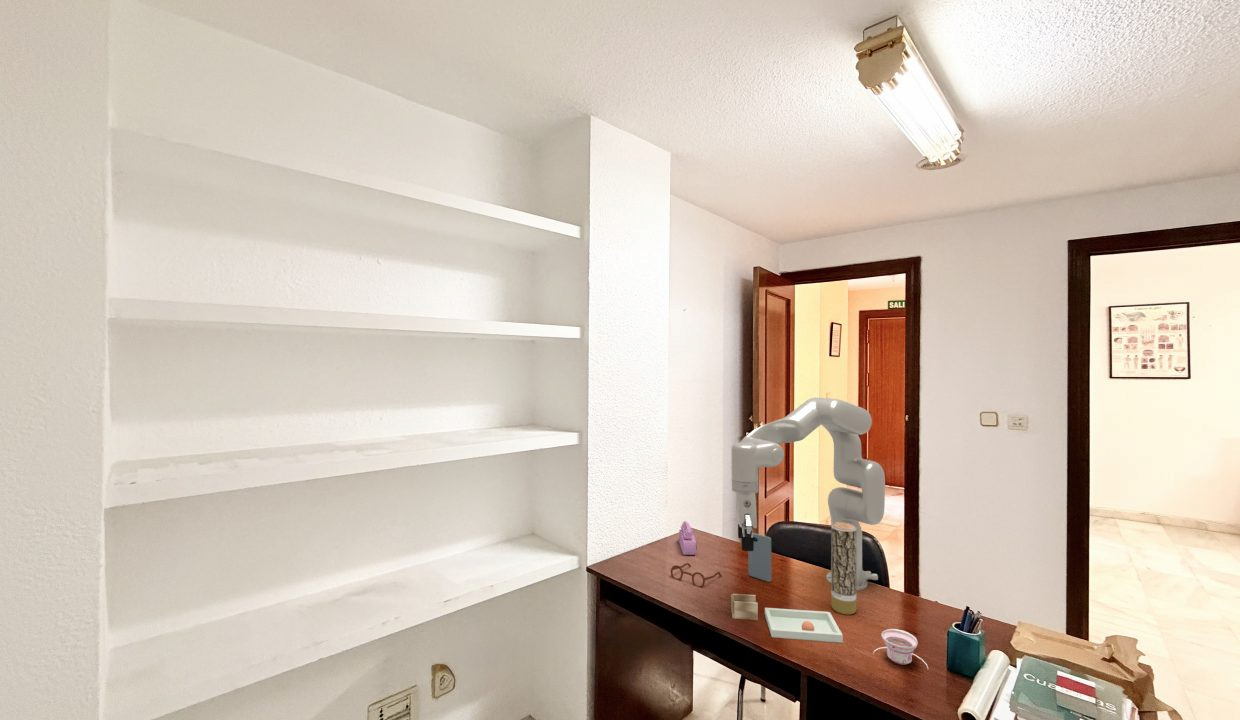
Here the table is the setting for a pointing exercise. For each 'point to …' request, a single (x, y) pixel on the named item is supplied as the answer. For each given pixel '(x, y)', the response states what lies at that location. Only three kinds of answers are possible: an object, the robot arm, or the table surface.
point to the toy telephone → (687, 539)
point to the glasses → (691, 574)
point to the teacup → (899, 645)
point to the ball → (807, 626)
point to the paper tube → (843, 568)
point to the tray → (791, 621)
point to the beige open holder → (744, 606)
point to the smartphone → (760, 558)
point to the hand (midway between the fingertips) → (745, 544)
